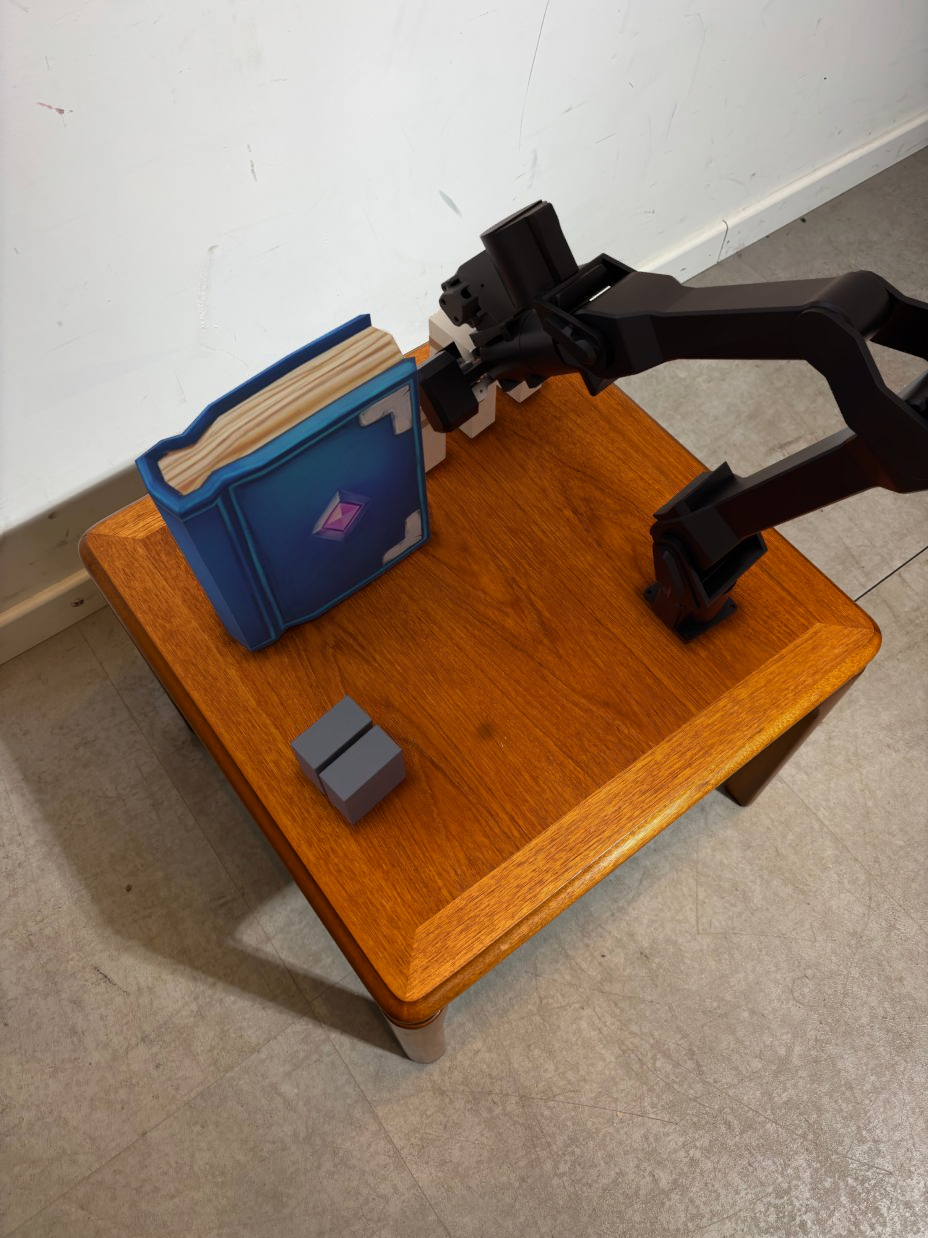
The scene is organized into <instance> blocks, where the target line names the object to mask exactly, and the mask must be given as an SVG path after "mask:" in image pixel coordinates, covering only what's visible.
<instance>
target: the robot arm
mask: <svg viewBox="0 0 928 1238" xmlns="http://www.w3.org/2000/svg"><path fill="white" fill-rule="evenodd" d="M479 238H480V240H481V243H482V245H483V247H484V250H482V251H480V252H479V253H477V254H476V255H474V256H473V257H471V258H470V259H468V260H467V261H465V262H464V263H462V264H461V265H460V266H459V267H458V268H457V270H456V271H455V273H454V274H453V275H452V276H451V277H449V278H448V279H446V280H445V281H443V282H442V283H441V284H440V289H441V291H442V293H441V295H440V296H439V298H438V304H439V308H440V309H442V310H443V311H444V313H445V314H446V315H447V317H448V318H449V319H450V321H451V322H452V323H453V324H454V325H455V326H457V327H460V326H462V325H463V324H468V325H469V326H470V327H471V328H476V330H475V331H473V332H472V333H470V334H469V336H470V338H471V340H472V342H473V344H474V346H475V348H473V349H472V350H470V352H469V354H470V356H471V358H472V359H473V360H474V361H477V359H480V358H481V359H480V360H479V361H477V362H476V363H474V364H473V363H472V361H471V360H470V361H467V362H465V360H464V358H463V357H462V355H461V353H460V351H459V349H458V347H457V346H456V344H455V342H454V341H453V342H451V343H450V344H448V345H447V346H445V347H444V348H443V349H441V350H440V351H438V352H437V353H435V354H434V355H433V356H431V357H430V356H429V357H428V358H426V359H425V360H423V361H422V362H420V363H419V364H417V365H416V366H417V376H418V388H419V400H420V407H421V409H422V411H423V412H424V414H425V416H426V418H427V420H428V421H429V423H430V425H431V427H432V429H433V430H434V431H435V432H438V433H445V434H452V433H453V432H455V431H456V430H457V429H460V428H459V427H460V426H461V425H463V424H464V423H465V422H467V421H468V420H469V419H471V418H472V417H474V416H475V415H476V414H478V413H479V403H481V402H482V401H483V400H484V398H485V397H486V396H487V394H488V386H490V385H491V384H492V383H494V382H495V381H496V380H498V382H499V384H500V386H501V388H502V389H501V388H500V389H501V390H502V392H503V393H506V392H510V391H511V390H513V389H514V388H515V387H517V386H518V385H519V384H521V383H522V382H523V381H525V382H526V384H527V386H528V388H529V389H532V388H536V387H538V386H539V385H540V384H542V385H543V383H544V382H546V381H547V380H549V379H550V378H553V377H558V376H559V377H561V376H566V375H572V374H579V376H580V377H581V379H582V382H583V383H584V385H585V388H586V390H587V392H588V394H589V395H590V396H591V397H593V398H595V397H597V396H598V395H599V394H601V393H602V392H603V391H604V390H606V389H608V388H609V387H610V386H611V385H612V384H614V383H615V382H616V381H617V380H619V379H623V378H627V377H631V376H636V375H639V374H641V373H644V372H646V371H649V370H651V369H654V368H656V367H658V366H661V365H663V364H666V363H668V362H673V361H678V360H679V361H681V360H685V361H687V360H688V361H689V360H691V361H693V360H694V361H697V360H698V361H710V360H711V361H805V362H807V364H809V365H810V366H811V367H812V368H814V369H815V370H816V371H817V372H818V373H820V374H821V375H822V376H823V377H824V378H825V380H826V383H827V385H828V387H829V389H830V391H831V393H832V397H833V399H834V400H835V402H836V405H837V407H838V410H839V412H840V414H841V416H842V419H843V421H844V423H845V425H846V427H844V428H842V429H840V430H838V431H837V432H834V433H833V434H830V435H829V436H828V435H827V437H824V438H822V439H821V440H819V441H818V440H817V441H816V442H814V443H812V444H810V445H808V446H805V447H804V448H802V449H800V450H798V451H796V452H794V453H792V454H790V455H788V456H786V457H784V458H782V459H780V460H778V461H776V462H774V463H772V464H769V465H768V466H765V467H764V468H761V469H760V470H757V471H756V472H754V473H751V474H750V475H748V476H744V477H742V476H741V475H739V474H737V473H734V472H733V470H732V468H731V467H730V465H729V463H728V461H726V460H725V461H723V462H722V463H721V464H720V465H719V466H718V467H716V468H715V469H714V470H711V471H701V473H699V474H698V475H697V476H696V477H695V478H693V480H691V481H690V482H689V483H688V484H687V485H685V486H684V487H683V488H682V489H681V490H679V491H678V492H677V493H676V494H675V495H674V496H672V497H671V498H670V499H669V500H668V501H667V502H666V503H664V504H663V505H662V506H661V507H660V508H659V509H657V510H656V511H655V512H654V513H653V514H652V518H654V519H655V520H656V521H655V522H654V523H652V524H651V526H650V527H649V530H648V531H649V532H648V533H649V535H650V536H651V539H652V544H651V549H652V560H653V569H654V570H653V571H654V579H655V581H656V582H654V583H652V584H651V585H649V586H647V587H646V588H645V589H644V590H643V593H642V596H643V597H644V598H645V600H646V601H647V602H648V603H649V605H651V607H652V610H653V611H654V613H656V615H657V616H658V617H659V619H660V620H661V621H662V622H663V623H664V625H666V627H668V628H669V629H671V630H672V631H673V632H674V633H675V634H676V635H677V637H678V638H679V639H680V640H681V641H682V642H683V643H685V644H689V643H691V642H693V641H694V640H697V638H699V637H701V636H702V635H703V634H705V633H707V632H708V631H710V630H711V629H713V628H714V627H716V626H717V625H719V624H721V623H722V622H724V621H725V620H727V619H728V618H729V617H731V616H733V615H734V614H736V613H737V612H738V609H739V605H738V604H737V603H736V602H735V601H734V599H732V597H731V596H730V595H731V593H732V591H733V590H734V588H735V586H736V584H737V582H738V580H739V579H740V578H741V577H742V576H743V575H744V574H745V573H746V572H747V571H749V569H751V568H752V567H753V566H754V565H755V564H756V563H757V562H758V561H759V560H760V559H761V558H762V557H764V556H765V555H766V554H767V553H768V552H769V548H768V545H767V543H766V540H765V538H764V537H763V534H762V532H765V531H768V530H770V529H772V528H775V527H777V526H781V525H783V524H785V523H788V522H790V521H794V520H796V519H798V518H800V517H803V516H806V515H808V514H811V513H814V512H816V511H818V510H821V509H823V508H826V507H829V506H831V505H834V504H836V503H839V502H841V501H844V500H847V499H849V498H852V497H855V496H857V495H859V494H862V493H865V492H867V491H870V490H872V489H876V488H881V489H884V490H887V491H890V492H892V493H896V494H899V495H908V494H909V495H910V494H915V493H916V494H917V493H920V492H921V493H922V492H928V368H927V369H925V370H924V371H923V372H921V373H920V374H919V375H918V376H917V377H916V378H915V379H913V380H912V381H910V382H909V384H907V385H906V386H905V387H904V388H903V389H901V390H900V391H899V392H897V393H895V392H894V391H893V390H892V389H891V388H890V387H888V386H887V384H886V383H885V379H884V378H883V376H882V374H881V372H880V369H879V367H878V365H877V363H876V361H875V359H874V356H873V353H871V350H870V348H869V346H868V343H867V342H871V343H873V344H876V345H879V346H881V347H885V348H887V349H891V350H894V351H896V352H897V351H898V352H901V353H904V354H907V355H910V356H912V357H917V358H920V359H922V360H924V361H925V362H927V363H928V302H926V301H923V300H920V299H917V298H913V297H910V296H908V295H905V294H904V293H903V292H901V291H900V290H899V289H898V288H897V287H895V286H894V285H893V284H891V283H890V282H889V281H888V280H887V279H886V278H884V277H883V276H881V275H879V274H878V273H876V272H875V271H872V270H865V269H859V270H856V271H848V272H845V273H843V274H841V275H837V276H831V277H829V276H828V277H818V278H804V279H803V278H802V279H791V280H779V281H777V280H776V281H765V282H764V281H763V282H752V283H739V284H725V285H713V286H700V287H696V286H695V287H694V286H687V285H684V284H682V283H681V282H680V280H678V279H677V278H676V277H674V276H673V275H671V274H666V273H665V274H664V273H656V272H650V271H649V272H648V271H642V270H641V271H639V270H637V269H635V268H633V267H631V266H630V265H628V264H626V263H623V262H621V261H620V260H618V259H616V258H615V257H613V256H611V255H609V254H607V253H605V252H602V253H600V254H598V255H597V256H596V257H594V258H593V259H592V260H590V261H588V262H585V263H582V264H579V265H578V263H577V261H576V259H575V256H574V254H573V252H572V250H571V248H570V245H569V243H568V241H567V238H566V235H565V234H564V231H563V229H562V225H561V222H560V219H559V216H558V213H557V212H556V209H555V207H554V205H553V203H551V202H548V201H547V200H543V199H537V200H536V201H534V202H532V203H530V204H528V205H526V206H524V207H523V208H520V209H519V210H517V211H514V212H513V213H511V214H510V215H507V216H506V217H505V218H503V219H502V220H499V221H498V222H496V223H495V224H493V225H492V226H490V227H489V228H487V229H486V230H484V231H483V232H482V233H480V234H479ZM484 374H486V375H484ZM481 376H483V378H482V377H481ZM480 377H481V378H480ZM479 380H480V382H477V381H479ZM648 593H649V594H648ZM731 607H732V608H731ZM687 637H688V638H687Z"/></svg>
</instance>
